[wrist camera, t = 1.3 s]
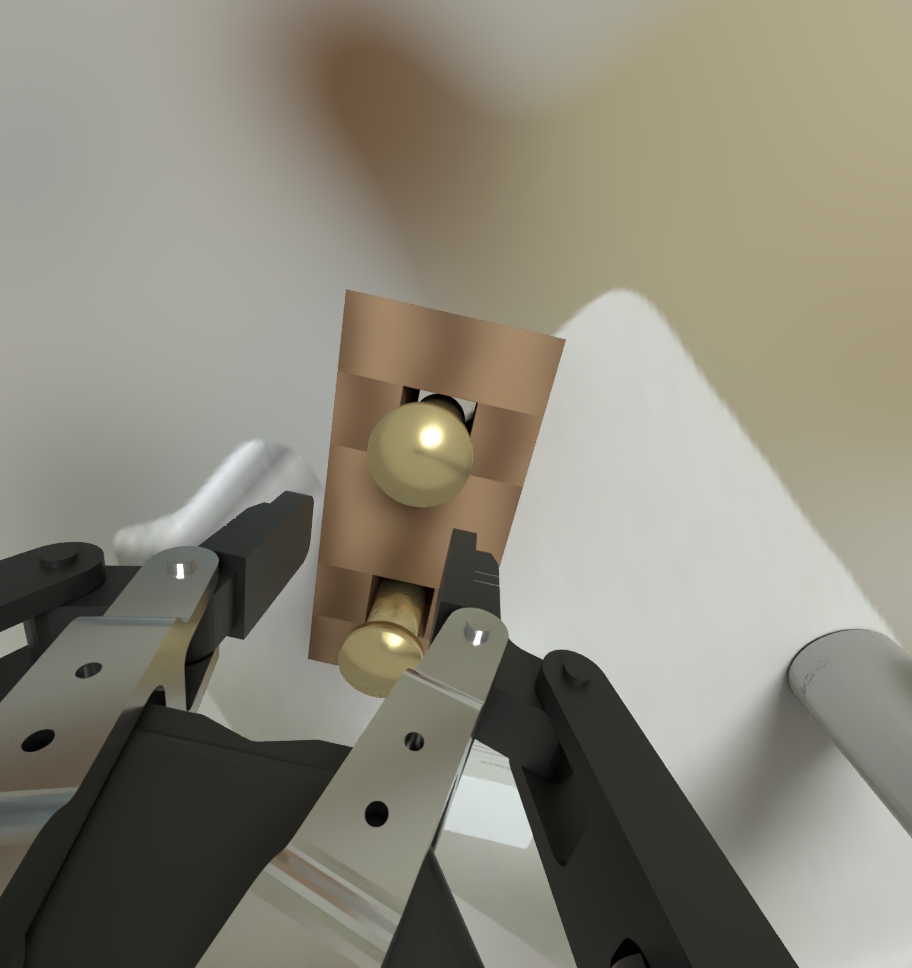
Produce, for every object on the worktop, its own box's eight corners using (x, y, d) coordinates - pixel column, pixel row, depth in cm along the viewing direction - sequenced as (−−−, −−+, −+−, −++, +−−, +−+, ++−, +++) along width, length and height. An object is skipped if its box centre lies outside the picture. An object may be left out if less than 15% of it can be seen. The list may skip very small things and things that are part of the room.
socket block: (546, 335, 30) (565, 339, 22) (467, 622, 39) (462, 692, 32) (381, 297, 30) (346, 289, 22) (342, 594, 39) (308, 658, 32)
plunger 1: (485, 390, 27) (483, 419, 19) (468, 463, 29) (460, 516, 21) (408, 373, 27) (374, 394, 19) (395, 447, 28) (360, 494, 21)
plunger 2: (444, 562, 31) (430, 642, 24) (432, 615, 33) (414, 705, 25) (379, 548, 31) (342, 622, 24) (370, 601, 33) (334, 687, 25)
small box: (439, 682, 42) (419, 826, 30) (454, 633, 40) (439, 769, 28) (516, 701, 43) (527, 853, 30) (536, 655, 40) (556, 798, 28)
